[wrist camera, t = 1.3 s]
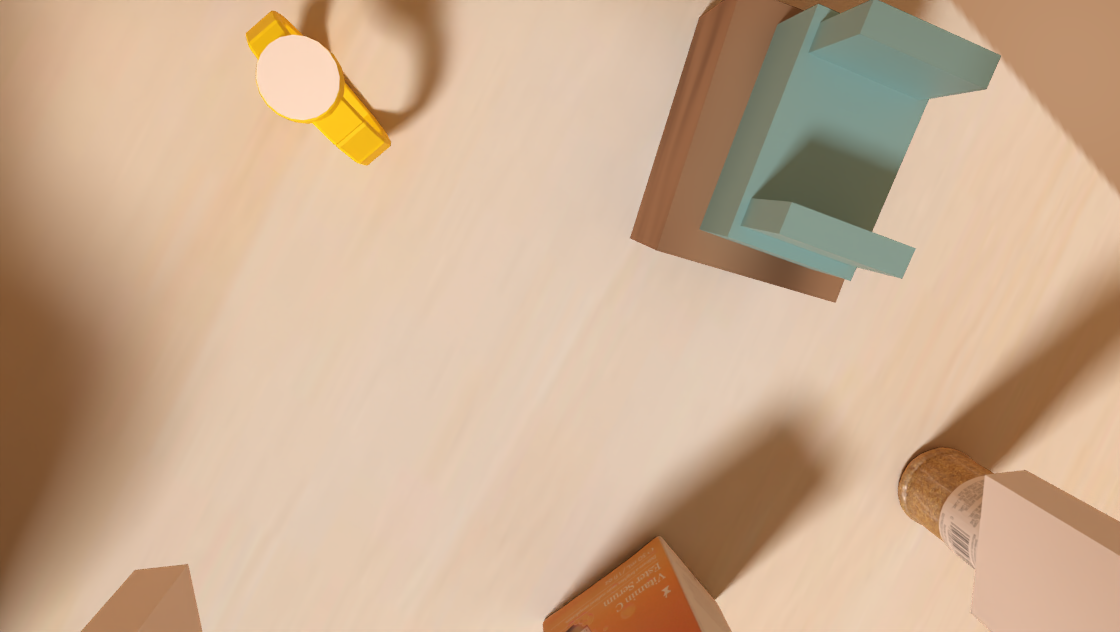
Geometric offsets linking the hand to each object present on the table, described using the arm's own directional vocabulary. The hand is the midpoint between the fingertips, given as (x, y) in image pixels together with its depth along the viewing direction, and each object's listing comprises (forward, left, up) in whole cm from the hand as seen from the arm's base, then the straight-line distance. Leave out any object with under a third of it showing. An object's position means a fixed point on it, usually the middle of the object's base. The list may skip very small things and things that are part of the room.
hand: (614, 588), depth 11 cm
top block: (+8, +10, -15) cm, 20 cm away
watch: (-10, +7, -20) cm, 24 cm away
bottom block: (+7, +10, -20) cm, 24 cm away
